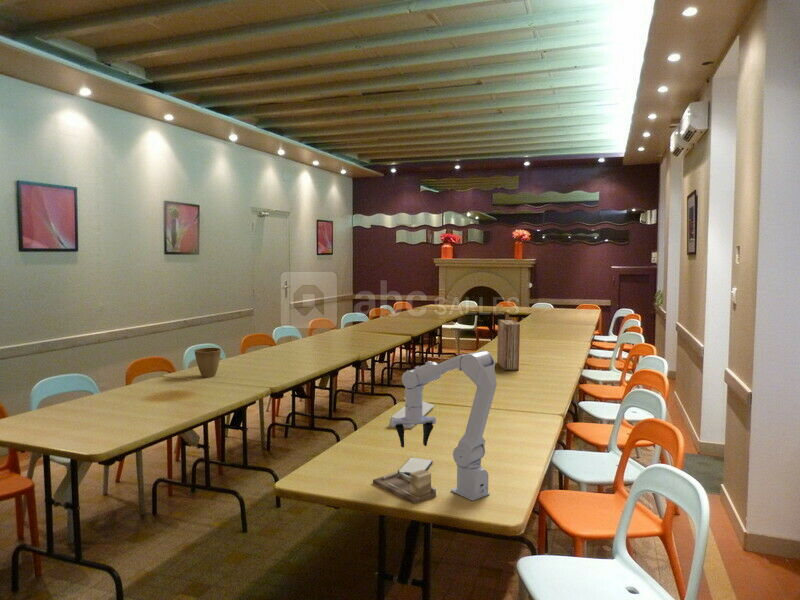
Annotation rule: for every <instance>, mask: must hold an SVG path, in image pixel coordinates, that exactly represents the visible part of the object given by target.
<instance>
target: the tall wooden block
mask: <svg viewBox="0 0 800 600" xmlns="http://www.w3.org/2000/svg"><path fill="white" fill-rule="evenodd" d="M520 333H521V324H520V323H519V322H518V321H516V320H515V319H512V318H497V352H496V353H497V354H496V355H497V358H496V359H497V360H496V362H497V364H498V365H499V367H500V368H502V369H503V371H507V370H509V371H510V370H511V371H513V370H514V371H516V370H517V371H519V370H520V341H521V340H520V335H521V334H520Z"/></svg>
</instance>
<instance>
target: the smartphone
mask: <svg viewBox="0 0 800 600" xmlns="http://www.w3.org/2000/svg"><path fill="white" fill-rule="evenodd" d="M433 462H434V461H433V460H432V459H428V458H420V457H409V458H408V459H407V461H406V462H405V463H404V464H403V465H402V466H401V467H400V468H399V469H398V470H397V473H398V475H399V472H401V473H404V474H406V475H408V476H410V473H413V472H416V471H419V470H425V471H427V470H428V471H429V470H430V468H431V467H432V465H433V464H434V463H433ZM432 463H433V464H432ZM430 466H431V467H430ZM428 471H427V472H428Z"/></svg>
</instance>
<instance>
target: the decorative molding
mask: <svg viewBox="0 0 800 600" xmlns="http://www.w3.org/2000/svg"><path fill="white" fill-rule="evenodd" d="M434 407H435V405H434V404H432V403H429V402H427V401H424V400H423V411H422V416H425V417H426V415H427V414H429V413H430V410H431V409H432V408H433V409H434ZM433 409H432V410H433ZM432 410H431V411H432ZM403 417H405V405H404V406H403V407H402V408H400V409H399V410H398V411H397V412H395V413H394V414H393V415H392V416H391V417H390V419H389V424H388V427H389V426H390V427H389V428H395V426H392V419H397V418H403ZM403 426H404V429H409V428H411V429H413V427H415V426H416V425H415V424H413V425H403Z"/></svg>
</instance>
